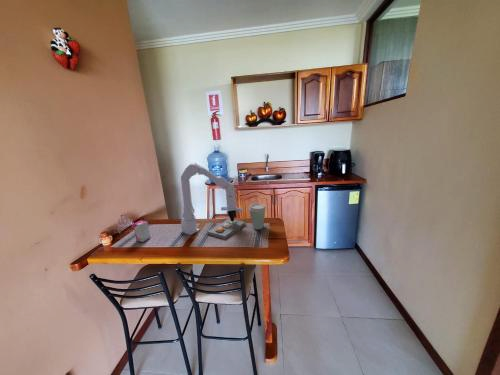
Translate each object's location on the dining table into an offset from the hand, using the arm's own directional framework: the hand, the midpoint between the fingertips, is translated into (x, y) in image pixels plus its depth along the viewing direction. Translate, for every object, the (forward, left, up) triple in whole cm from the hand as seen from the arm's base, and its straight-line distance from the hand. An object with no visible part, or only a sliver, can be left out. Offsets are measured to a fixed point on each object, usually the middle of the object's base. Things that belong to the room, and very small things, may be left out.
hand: (232, 220), depth 131 cm
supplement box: (-39, -39, -4) cm, 56 cm away
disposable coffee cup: (+17, +5, -4) cm, 18 cm away
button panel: (0, -6, -3) cm, 7 cm away
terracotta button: (0, -13, -2) cm, 13 cm away
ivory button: (0, -7, -2) cm, 7 cm away
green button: (0, 0, -3) cm, 3 cm away
